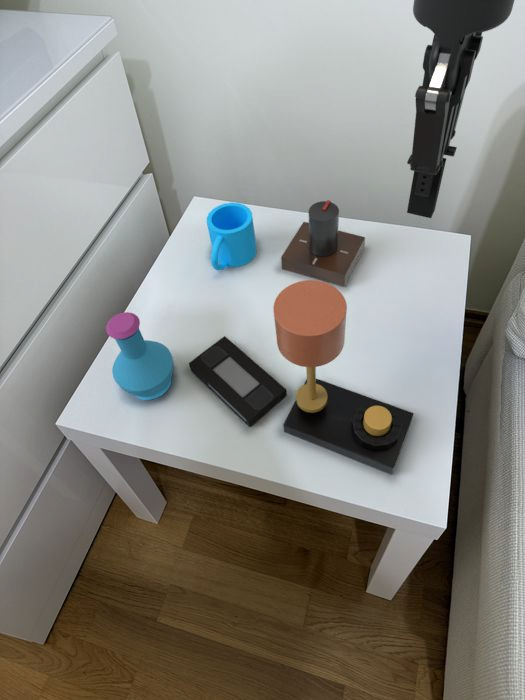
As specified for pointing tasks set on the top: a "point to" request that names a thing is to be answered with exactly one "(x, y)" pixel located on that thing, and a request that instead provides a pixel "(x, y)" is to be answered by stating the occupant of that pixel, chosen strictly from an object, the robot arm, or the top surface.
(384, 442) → the lamp base
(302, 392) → the lamp
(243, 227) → the mug
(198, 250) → the top surface
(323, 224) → the dimmer
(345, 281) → the dimmer panel
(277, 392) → the vhs tape
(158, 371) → the perfume bottle
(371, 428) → the switch
